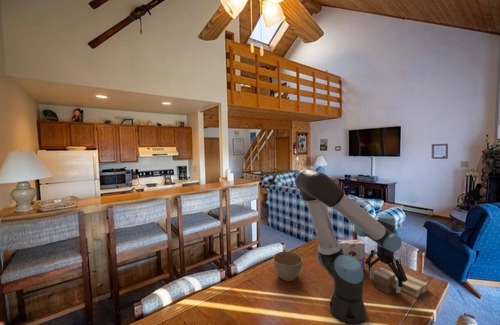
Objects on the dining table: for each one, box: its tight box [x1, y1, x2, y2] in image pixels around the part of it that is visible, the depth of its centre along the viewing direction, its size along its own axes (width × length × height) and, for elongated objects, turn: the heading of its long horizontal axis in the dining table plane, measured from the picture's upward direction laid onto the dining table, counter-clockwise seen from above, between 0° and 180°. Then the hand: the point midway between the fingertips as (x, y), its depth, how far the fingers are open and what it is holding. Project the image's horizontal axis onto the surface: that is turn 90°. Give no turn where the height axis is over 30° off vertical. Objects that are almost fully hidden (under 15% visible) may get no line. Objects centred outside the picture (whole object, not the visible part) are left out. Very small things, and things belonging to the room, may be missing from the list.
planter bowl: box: [273, 251, 303, 282], centre depth 127 cm, size 16×16×11 cm
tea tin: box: [373, 267, 396, 294], centre depth 116 cm, size 7×7×8 cm
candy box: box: [337, 239, 366, 271], centre depth 135 cm, size 14×6×16 cm, turn 84°
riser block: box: [395, 272, 429, 298], centre depth 116 cm, size 11×11×4 cm
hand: (384, 284), depth 117 cm, fingers open, 13 cm apart
